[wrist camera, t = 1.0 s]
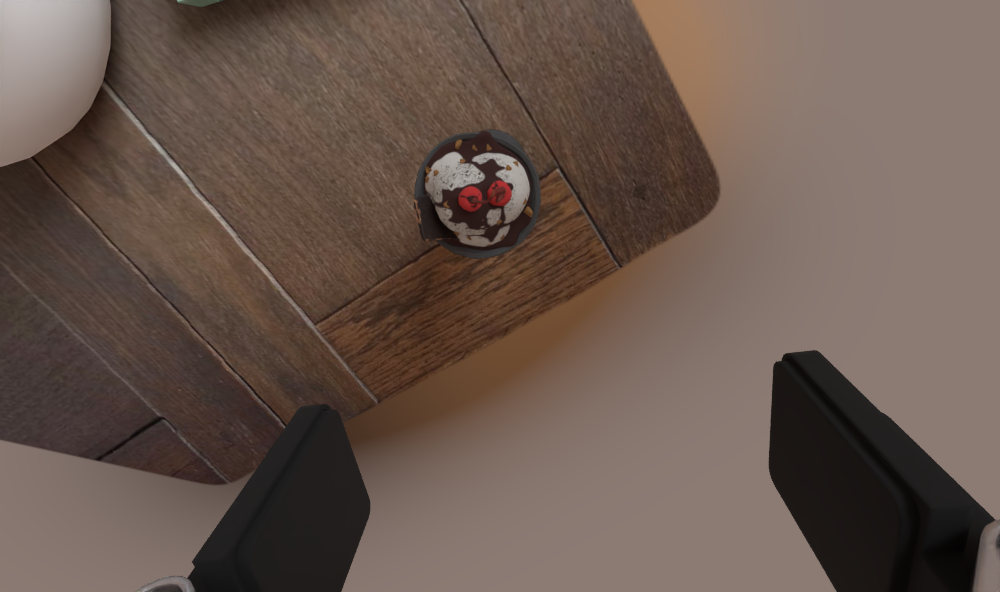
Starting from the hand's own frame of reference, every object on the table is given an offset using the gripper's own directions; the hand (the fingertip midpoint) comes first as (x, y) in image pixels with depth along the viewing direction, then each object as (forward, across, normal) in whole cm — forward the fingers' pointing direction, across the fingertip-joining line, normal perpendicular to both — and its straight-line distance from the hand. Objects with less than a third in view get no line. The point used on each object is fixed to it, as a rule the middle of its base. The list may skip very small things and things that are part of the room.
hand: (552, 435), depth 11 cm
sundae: (+28, +3, -2) cm, 28 cm away
